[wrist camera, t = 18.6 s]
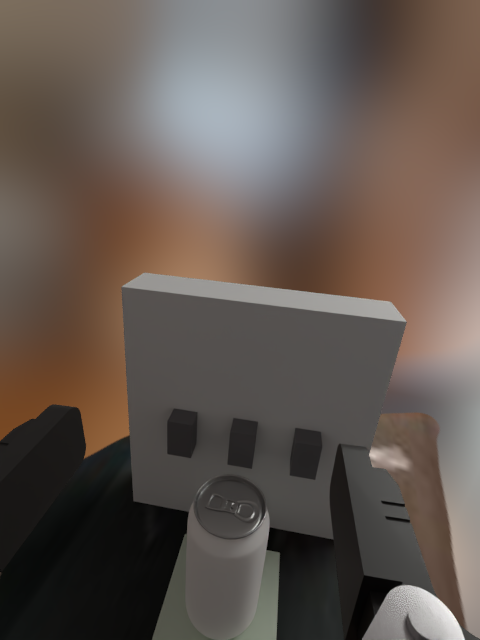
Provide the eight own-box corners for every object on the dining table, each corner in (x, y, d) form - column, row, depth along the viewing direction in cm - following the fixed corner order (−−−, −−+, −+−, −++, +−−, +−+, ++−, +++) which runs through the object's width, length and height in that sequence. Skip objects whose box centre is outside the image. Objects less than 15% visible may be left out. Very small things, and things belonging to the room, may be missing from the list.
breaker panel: (346, 560, 36) (414, 331, 26) (125, 516, 38) (110, 293, 28) (338, 502, 42) (390, 301, 32) (150, 468, 45) (144, 272, 35)
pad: (273, 687, 26) (274, 683, 26) (148, 657, 27) (147, 653, 27) (279, 556, 36) (279, 552, 35) (184, 537, 37) (184, 533, 36)
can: (247, 656, 28) (263, 557, 23) (172, 627, 29) (173, 528, 24) (263, 574, 33) (278, 481, 29) (200, 552, 35) (205, 461, 30)
